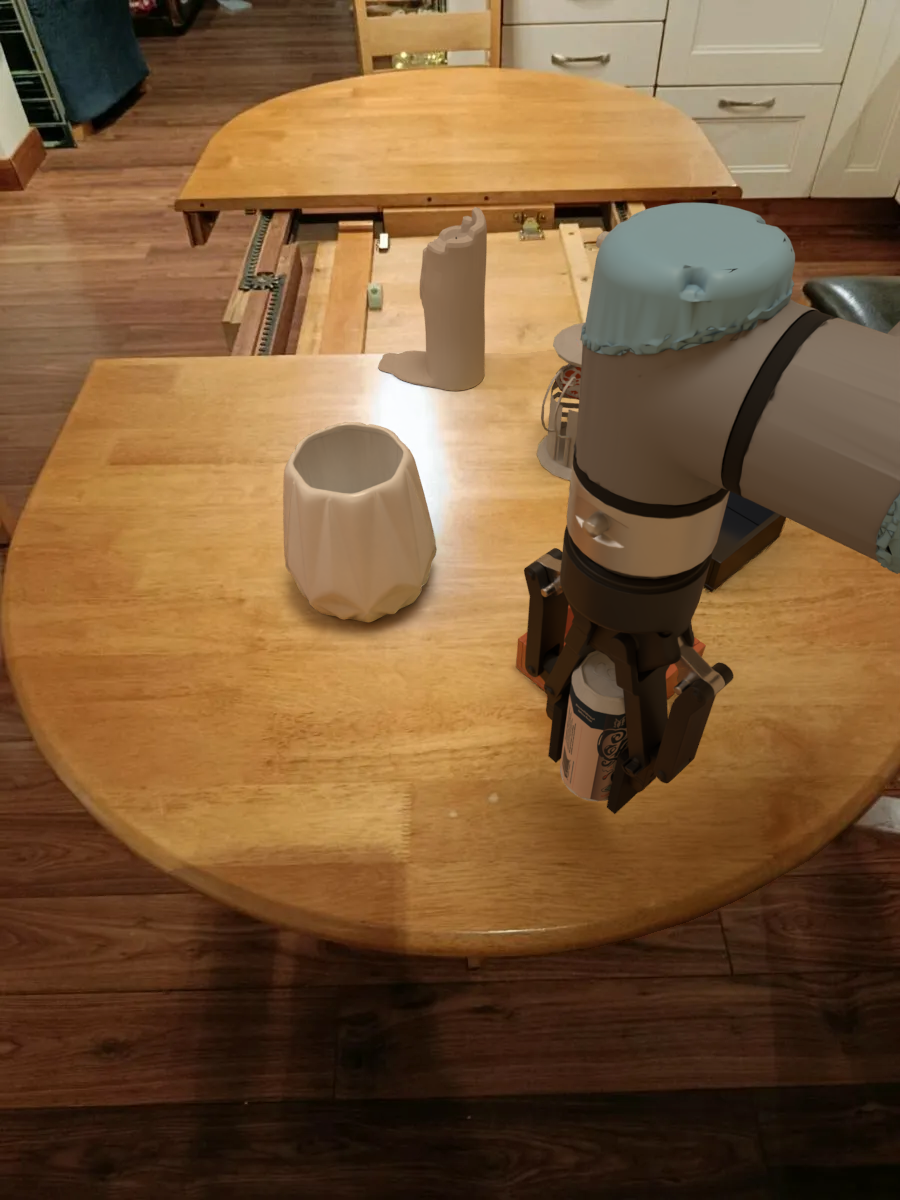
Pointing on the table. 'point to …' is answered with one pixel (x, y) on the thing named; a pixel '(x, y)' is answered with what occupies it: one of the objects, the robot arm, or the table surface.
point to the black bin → (741, 538)
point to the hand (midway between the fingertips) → (593, 772)
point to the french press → (562, 435)
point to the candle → (450, 311)
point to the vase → (356, 522)
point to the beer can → (593, 729)
